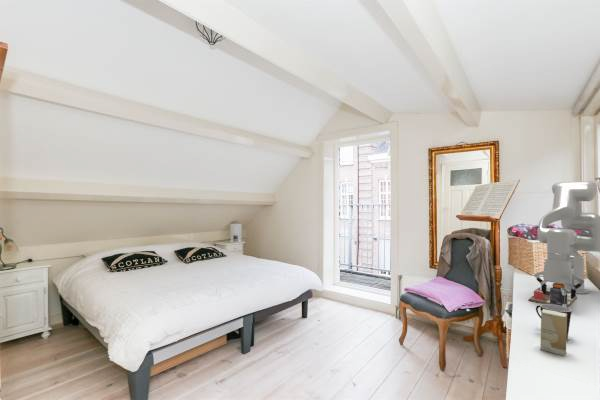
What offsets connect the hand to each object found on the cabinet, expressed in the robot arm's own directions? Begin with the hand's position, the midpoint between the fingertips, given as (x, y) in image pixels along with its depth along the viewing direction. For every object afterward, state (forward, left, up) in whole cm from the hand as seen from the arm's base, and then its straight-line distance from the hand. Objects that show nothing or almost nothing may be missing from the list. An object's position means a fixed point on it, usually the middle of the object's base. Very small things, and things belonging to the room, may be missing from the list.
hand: (558, 295), depth 138 cm
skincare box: (+52, +7, -6) cm, 52 cm away
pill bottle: (0, 0, -6) cm, 6 cm away
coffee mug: (+36, +5, -6) cm, 36 cm away
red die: (-9, -9, -6) cm, 14 cm away
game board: (-16, -5, -6) cm, 18 cm away
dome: (-22, -9, -5) cm, 25 cm away
